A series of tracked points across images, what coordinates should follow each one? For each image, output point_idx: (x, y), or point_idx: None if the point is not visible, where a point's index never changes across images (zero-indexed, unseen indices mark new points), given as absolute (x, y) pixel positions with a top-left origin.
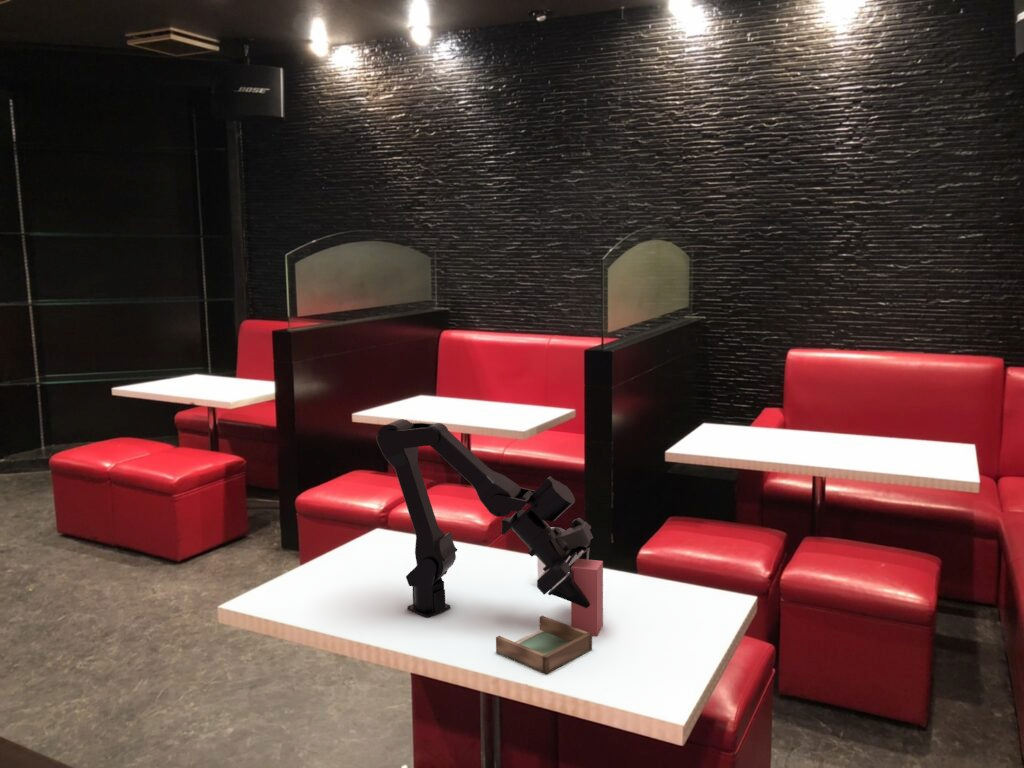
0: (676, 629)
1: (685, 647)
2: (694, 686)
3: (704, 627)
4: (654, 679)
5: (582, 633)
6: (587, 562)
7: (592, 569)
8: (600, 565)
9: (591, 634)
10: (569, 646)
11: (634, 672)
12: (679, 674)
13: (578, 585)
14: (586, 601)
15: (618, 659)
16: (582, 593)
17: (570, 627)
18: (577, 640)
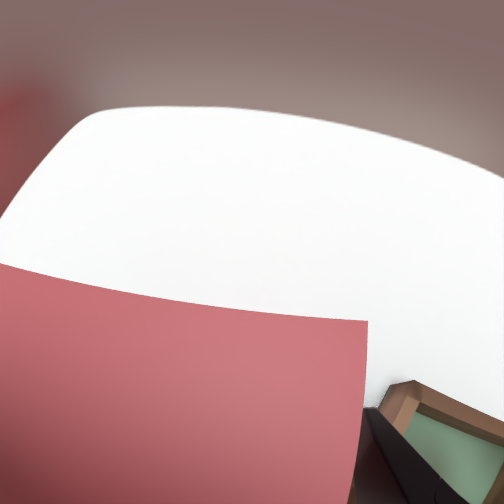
0: (206, 177)
1: (303, 160)
2: (446, 160)
3: (194, 138)
4: (463, 215)
5: (410, 416)
6: (12, 476)
7: (354, 424)
8: (84, 288)
9: (415, 381)
10: (494, 418)
11: (460, 253)
12: (424, 175)
13: None
14: (392, 427)
15: (423, 297)
16: (404, 462)
17: None
18: (467, 410)
